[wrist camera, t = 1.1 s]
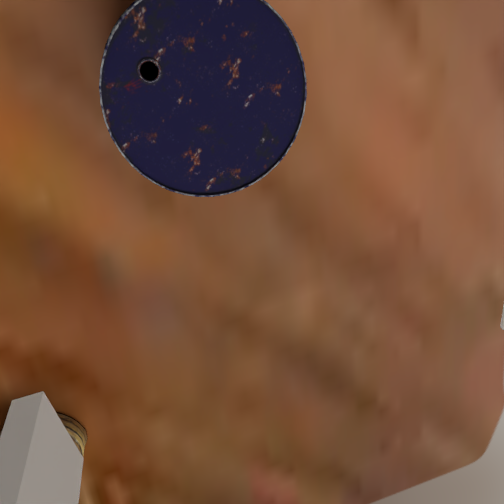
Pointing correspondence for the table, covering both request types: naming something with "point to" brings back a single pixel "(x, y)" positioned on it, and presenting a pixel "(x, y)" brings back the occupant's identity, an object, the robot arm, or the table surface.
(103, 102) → the navy blue cylinder
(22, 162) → the table surface
